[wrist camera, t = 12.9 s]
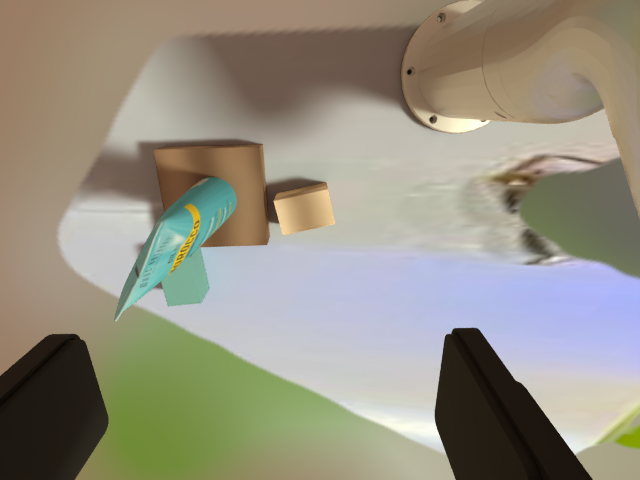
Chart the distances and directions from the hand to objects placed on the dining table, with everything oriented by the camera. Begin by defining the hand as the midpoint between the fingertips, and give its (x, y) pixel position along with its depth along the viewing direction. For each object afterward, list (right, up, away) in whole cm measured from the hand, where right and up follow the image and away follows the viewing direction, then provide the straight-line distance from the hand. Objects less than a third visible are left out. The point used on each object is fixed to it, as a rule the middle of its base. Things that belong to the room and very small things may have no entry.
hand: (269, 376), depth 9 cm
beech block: (0, +8, +33) cm, 34 cm away
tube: (-10, +8, +30) cm, 32 cm away
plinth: (-10, +9, +32) cm, 35 cm away
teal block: (-15, 0, +36) cm, 39 cm away
